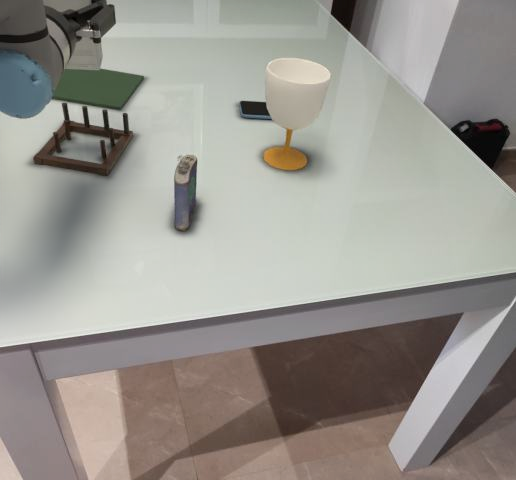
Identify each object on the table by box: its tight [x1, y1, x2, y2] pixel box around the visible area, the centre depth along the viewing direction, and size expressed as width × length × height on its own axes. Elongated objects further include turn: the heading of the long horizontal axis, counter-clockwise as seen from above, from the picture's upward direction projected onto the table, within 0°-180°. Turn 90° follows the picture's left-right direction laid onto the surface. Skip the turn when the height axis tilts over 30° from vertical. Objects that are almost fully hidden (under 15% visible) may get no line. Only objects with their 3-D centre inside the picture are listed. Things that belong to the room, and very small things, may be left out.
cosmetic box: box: [43, 0, 104, 70], centre depth 82 cm, size 8×6×15 cm
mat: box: [52, 68, 145, 111], centre depth 116 cm, size 18×18×1 cm
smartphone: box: [238, 100, 272, 120], centre depth 117 cm, size 7×1×15 cm
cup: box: [262, 57, 332, 171], centre depth 98 cm, size 12×12×17 cm
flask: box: [173, 154, 198, 232], centre depth 84 cm, size 9×3×11 cm, turn 174°
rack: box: [32, 102, 134, 177], centre depth 97 cm, size 16×14×5 cm
